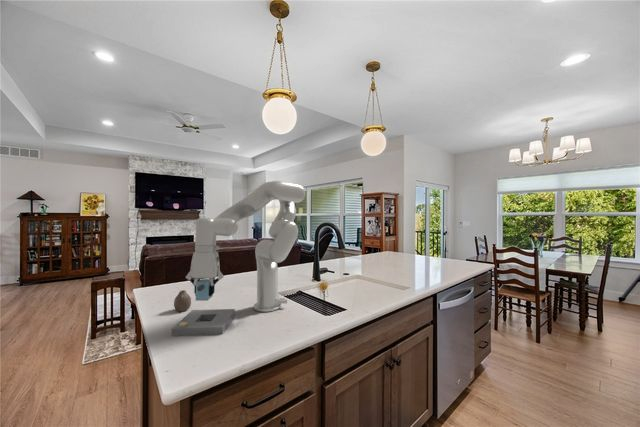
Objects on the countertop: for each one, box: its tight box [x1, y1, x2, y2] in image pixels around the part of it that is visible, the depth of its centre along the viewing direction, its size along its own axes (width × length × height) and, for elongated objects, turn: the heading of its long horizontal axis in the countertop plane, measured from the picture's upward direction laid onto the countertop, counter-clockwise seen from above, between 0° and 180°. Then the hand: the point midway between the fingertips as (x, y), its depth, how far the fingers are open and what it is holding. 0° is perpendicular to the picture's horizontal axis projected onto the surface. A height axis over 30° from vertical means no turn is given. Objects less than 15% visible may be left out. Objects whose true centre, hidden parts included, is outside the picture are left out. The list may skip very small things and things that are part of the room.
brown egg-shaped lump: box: [173, 289, 192, 313], centre depth 119 cm, size 7×7×9 cm
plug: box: [195, 278, 213, 302], centre depth 102 cm, size 4×8×7 cm, turn 4°
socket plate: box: [171, 308, 236, 336], centre depth 104 cm, size 18×18×3 cm
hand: (204, 294), depth 103 cm, fingers closed on plug, 4 cm apart
